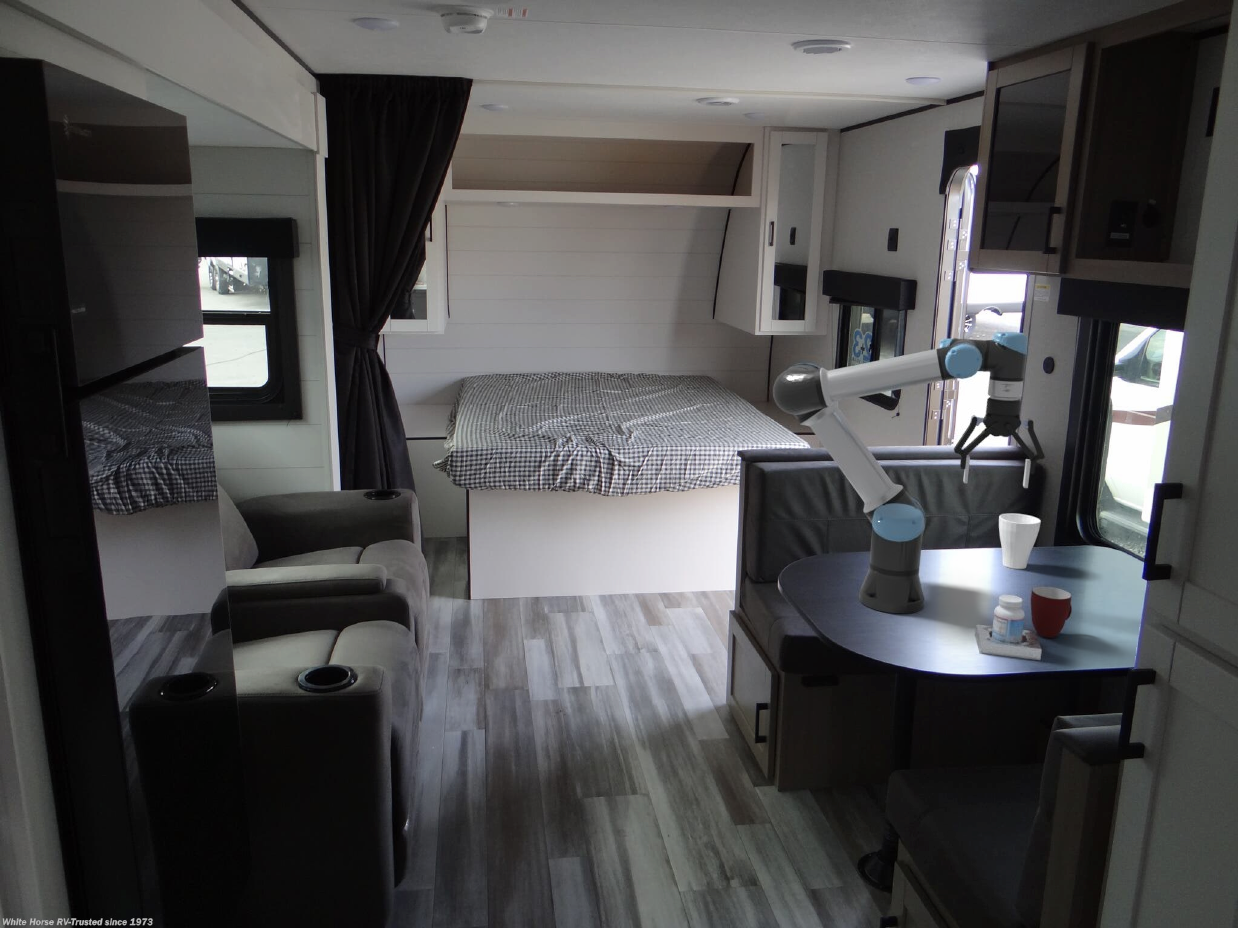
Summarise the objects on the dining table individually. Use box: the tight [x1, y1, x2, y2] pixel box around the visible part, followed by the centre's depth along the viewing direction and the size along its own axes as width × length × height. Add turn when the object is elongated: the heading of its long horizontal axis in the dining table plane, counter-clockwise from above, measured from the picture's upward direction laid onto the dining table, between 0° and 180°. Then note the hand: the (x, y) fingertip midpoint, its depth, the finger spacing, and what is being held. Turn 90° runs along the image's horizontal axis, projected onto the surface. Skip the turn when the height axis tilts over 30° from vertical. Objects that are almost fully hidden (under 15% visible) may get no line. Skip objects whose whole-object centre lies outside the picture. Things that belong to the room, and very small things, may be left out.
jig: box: [974, 624, 1042, 661], centre depth 200 cm, size 12×10×2 cm
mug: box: [1030, 586, 1073, 639], centre depth 207 cm, size 11×8×10 cm
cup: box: [998, 512, 1042, 570], centre depth 253 cm, size 10×10×14 cm
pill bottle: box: [992, 594, 1026, 644], centre depth 199 cm, size 6×6×11 cm
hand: (995, 484), depth 224 cm, fingers open, 13 cm apart
